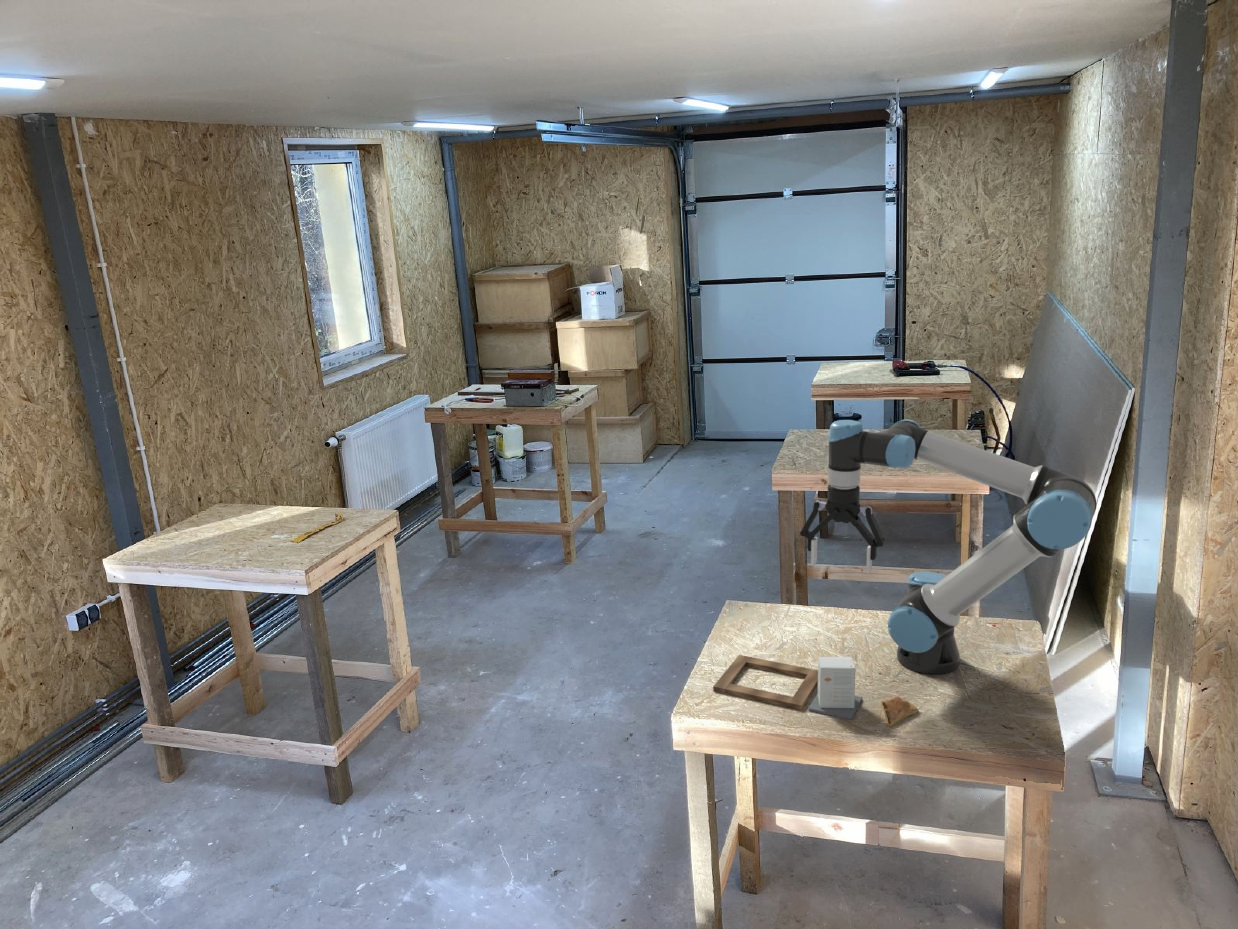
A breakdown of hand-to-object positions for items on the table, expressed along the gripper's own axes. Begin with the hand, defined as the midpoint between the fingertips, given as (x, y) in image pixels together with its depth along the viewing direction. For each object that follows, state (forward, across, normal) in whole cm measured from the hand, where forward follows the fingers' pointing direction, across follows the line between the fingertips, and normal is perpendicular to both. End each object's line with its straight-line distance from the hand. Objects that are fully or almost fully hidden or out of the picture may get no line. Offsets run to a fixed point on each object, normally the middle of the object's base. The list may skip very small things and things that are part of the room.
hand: (841, 567), depth 232 cm
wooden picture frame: (+27, +13, +16) cm, 33 cm away
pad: (+27, -4, +19) cm, 33 cm away
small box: (+26, -4, +19) cm, 33 cm away
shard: (+28, -19, +17) cm, 38 cm away
